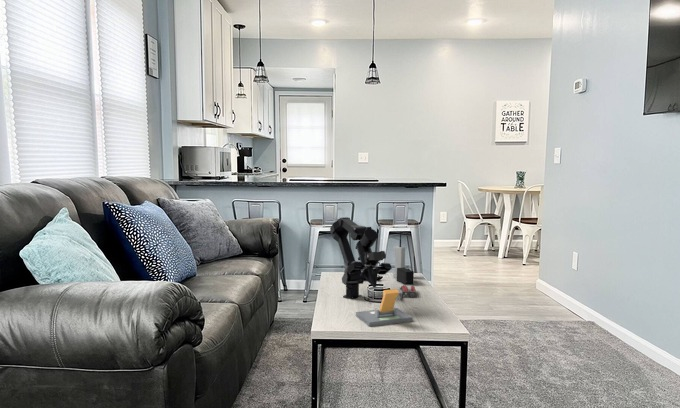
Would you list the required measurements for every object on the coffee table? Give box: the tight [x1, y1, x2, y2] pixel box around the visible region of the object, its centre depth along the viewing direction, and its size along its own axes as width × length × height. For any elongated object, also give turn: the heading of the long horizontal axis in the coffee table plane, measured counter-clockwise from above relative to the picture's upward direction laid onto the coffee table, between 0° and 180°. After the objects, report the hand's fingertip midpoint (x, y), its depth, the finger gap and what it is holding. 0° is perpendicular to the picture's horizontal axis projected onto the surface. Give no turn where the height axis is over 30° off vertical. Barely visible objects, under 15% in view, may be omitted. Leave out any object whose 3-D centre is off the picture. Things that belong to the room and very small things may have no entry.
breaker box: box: [355, 306, 414, 327], centre depth 172 cm, size 13×18×4 cm
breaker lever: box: [379, 288, 399, 315], centre depth 168 cm, size 2×6×11 cm, turn 110°
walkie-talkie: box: [396, 284, 418, 301], centre depth 204 cm, size 9×4×20 cm
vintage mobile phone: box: [392, 231, 406, 279], centre depth 239 cm, size 4×5×25 cm
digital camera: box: [396, 267, 414, 286], centre depth 229 cm, size 10×5×7 cm, turn 19°
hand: (374, 286), depth 179 cm, fingers closed
